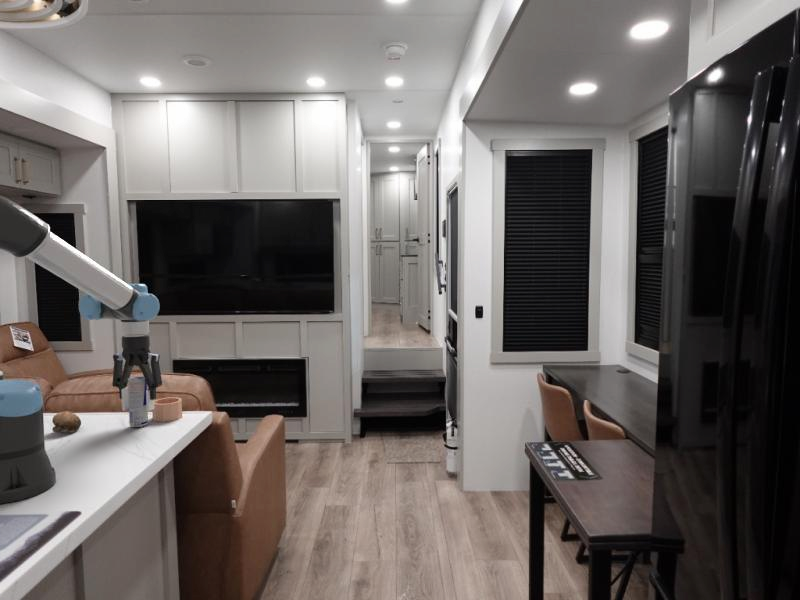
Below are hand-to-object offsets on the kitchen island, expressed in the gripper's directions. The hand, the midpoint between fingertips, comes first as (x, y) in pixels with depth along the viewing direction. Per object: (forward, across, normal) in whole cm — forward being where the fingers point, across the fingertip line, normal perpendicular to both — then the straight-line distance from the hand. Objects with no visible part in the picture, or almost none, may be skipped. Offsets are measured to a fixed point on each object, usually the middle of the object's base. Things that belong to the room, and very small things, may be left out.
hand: (138, 409), depth 158 cm
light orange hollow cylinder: (+5, -4, -9) cm, 11 cm away
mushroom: (+5, +18, +7) cm, 20 cm away
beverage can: (+5, 0, 0) cm, 5 cm away
